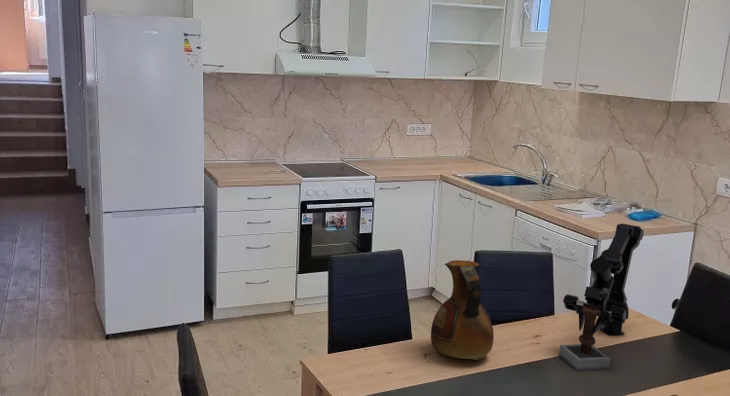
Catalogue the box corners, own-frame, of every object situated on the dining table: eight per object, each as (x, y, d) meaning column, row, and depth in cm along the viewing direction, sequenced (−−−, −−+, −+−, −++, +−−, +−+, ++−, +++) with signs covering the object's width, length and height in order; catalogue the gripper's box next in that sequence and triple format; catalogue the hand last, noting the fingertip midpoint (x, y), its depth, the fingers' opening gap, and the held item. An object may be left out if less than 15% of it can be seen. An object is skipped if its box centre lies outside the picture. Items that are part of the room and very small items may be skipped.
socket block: (558, 355, 210) (560, 345, 210) (589, 353, 213) (590, 343, 212) (577, 370, 200) (578, 360, 199) (608, 369, 202) (610, 358, 202)
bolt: (596, 352, 207) (603, 308, 203) (592, 358, 203) (599, 313, 199) (578, 347, 210) (584, 303, 206) (573, 353, 206) (579, 308, 202)
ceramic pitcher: (473, 338, 220) (481, 253, 214) (503, 364, 201) (513, 271, 195) (419, 343, 214) (426, 255, 208) (446, 370, 195) (454, 274, 189)
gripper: (568, 270, 210) (552, 312, 203) (628, 283, 199) (614, 328, 192) (573, 287, 217) (558, 328, 211) (631, 301, 207) (618, 344, 200)
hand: (586, 331), depth 203 cm, fingers closed on bolt, 4 cm apart
